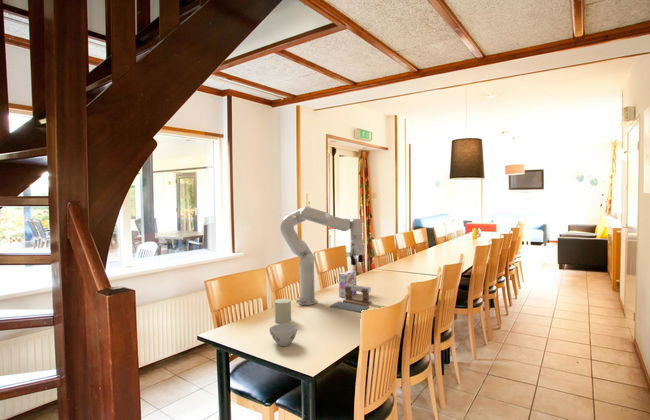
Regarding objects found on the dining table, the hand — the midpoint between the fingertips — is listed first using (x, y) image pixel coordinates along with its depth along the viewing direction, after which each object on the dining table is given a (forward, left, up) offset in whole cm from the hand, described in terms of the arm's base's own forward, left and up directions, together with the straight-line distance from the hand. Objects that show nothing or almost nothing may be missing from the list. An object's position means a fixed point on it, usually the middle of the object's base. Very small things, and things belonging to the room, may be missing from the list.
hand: (357, 263), depth 235 cm
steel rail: (-1, -1, -17) cm, 17 cm away
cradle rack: (-1, -1, -25) cm, 25 cm away
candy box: (+11, +13, -26) cm, 31 cm away
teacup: (-76, +1, -26) cm, 80 cm away
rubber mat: (-12, -1, -25) cm, 28 cm away
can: (-52, +20, -26) cm, 62 cm away
